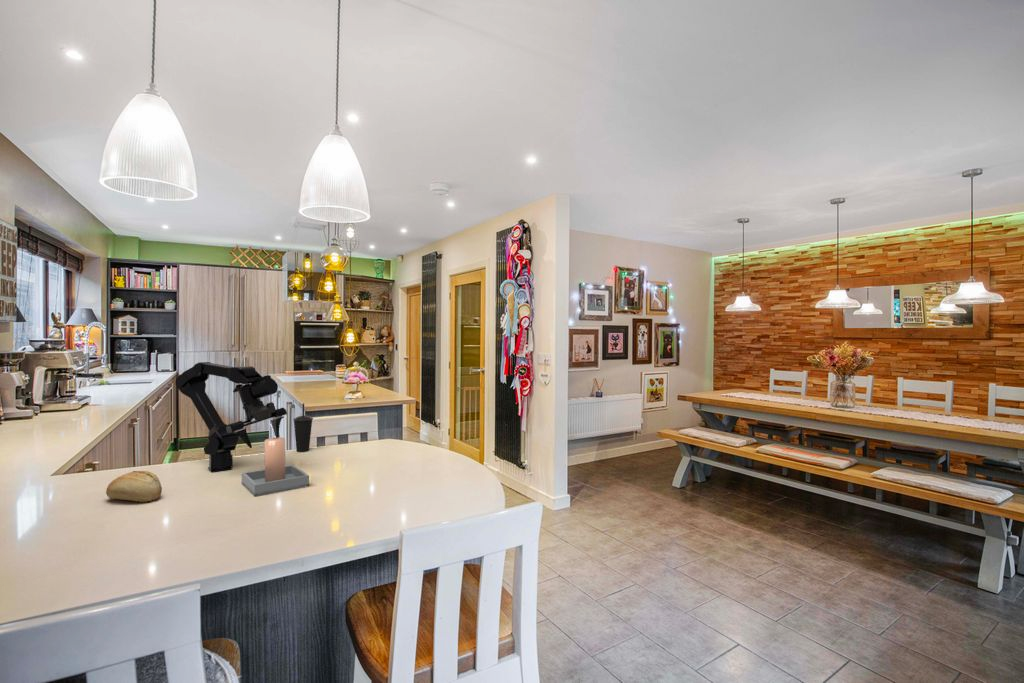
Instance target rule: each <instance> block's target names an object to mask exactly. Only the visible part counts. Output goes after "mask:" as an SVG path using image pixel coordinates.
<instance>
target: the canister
mask: <svg viewBox="0 0 1024 683" xmlns="http://www.w3.org/2000/svg"><path fill="white" fill-rule="evenodd" d="M285 466H286V438H285V437H279V438H276V437H271V438H267V439H264V469H265V482H271V481H276V480H282V479H285Z"/></svg>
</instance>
